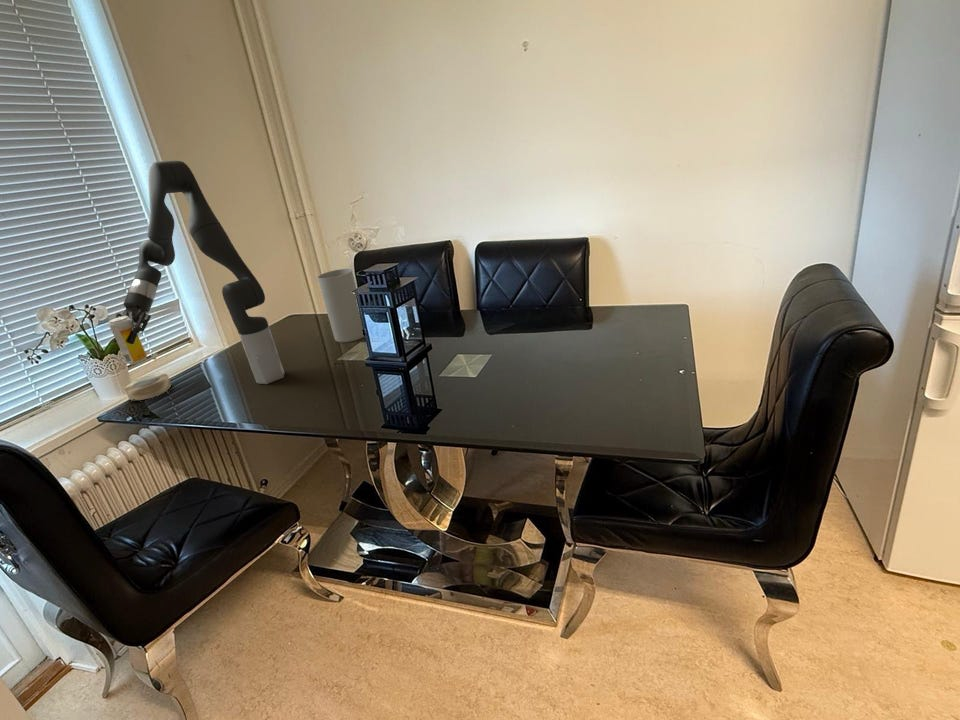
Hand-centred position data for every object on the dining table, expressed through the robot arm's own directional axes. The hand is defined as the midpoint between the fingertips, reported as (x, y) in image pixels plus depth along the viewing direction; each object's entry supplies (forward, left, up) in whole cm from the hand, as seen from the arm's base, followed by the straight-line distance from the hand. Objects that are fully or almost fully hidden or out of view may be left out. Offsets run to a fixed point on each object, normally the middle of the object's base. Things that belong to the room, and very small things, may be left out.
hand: (123, 343), depth 168 cm
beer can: (+1, -2, -8) cm, 8 cm away
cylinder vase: (-18, -68, -19) cm, 73 cm away
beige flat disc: (+1, -1, -19) cm, 19 cm away
